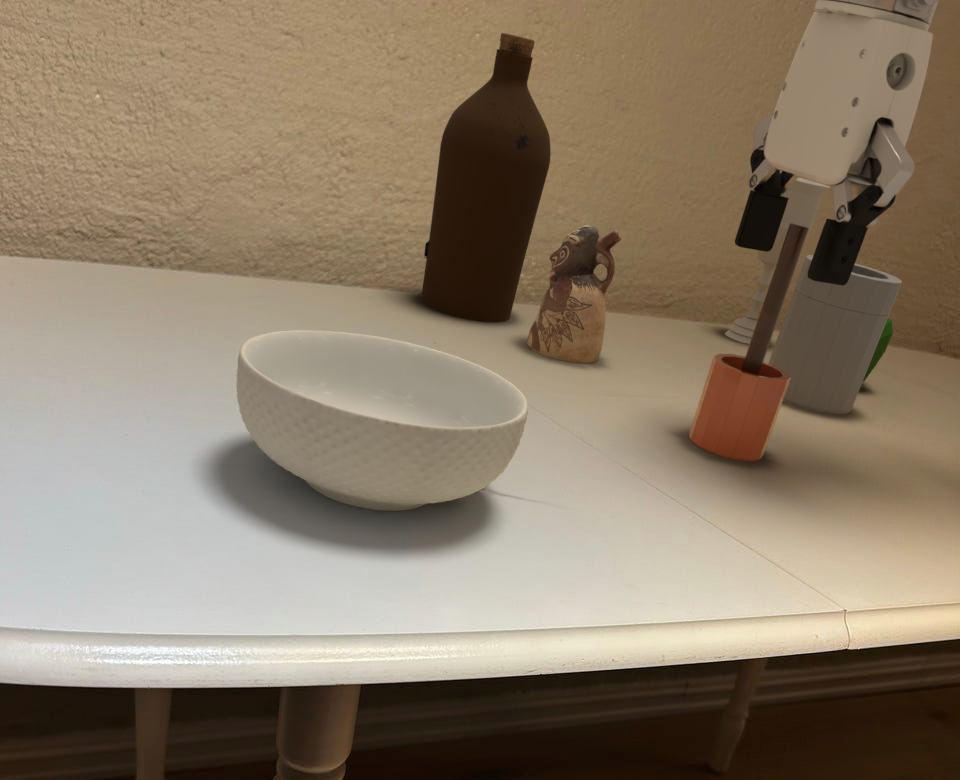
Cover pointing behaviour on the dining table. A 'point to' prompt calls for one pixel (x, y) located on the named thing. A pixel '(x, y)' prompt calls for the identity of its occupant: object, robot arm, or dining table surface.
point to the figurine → (575, 298)
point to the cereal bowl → (377, 417)
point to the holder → (738, 408)
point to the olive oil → (487, 193)
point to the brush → (775, 297)
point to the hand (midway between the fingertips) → (787, 264)
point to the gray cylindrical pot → (832, 336)
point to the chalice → (797, 211)
